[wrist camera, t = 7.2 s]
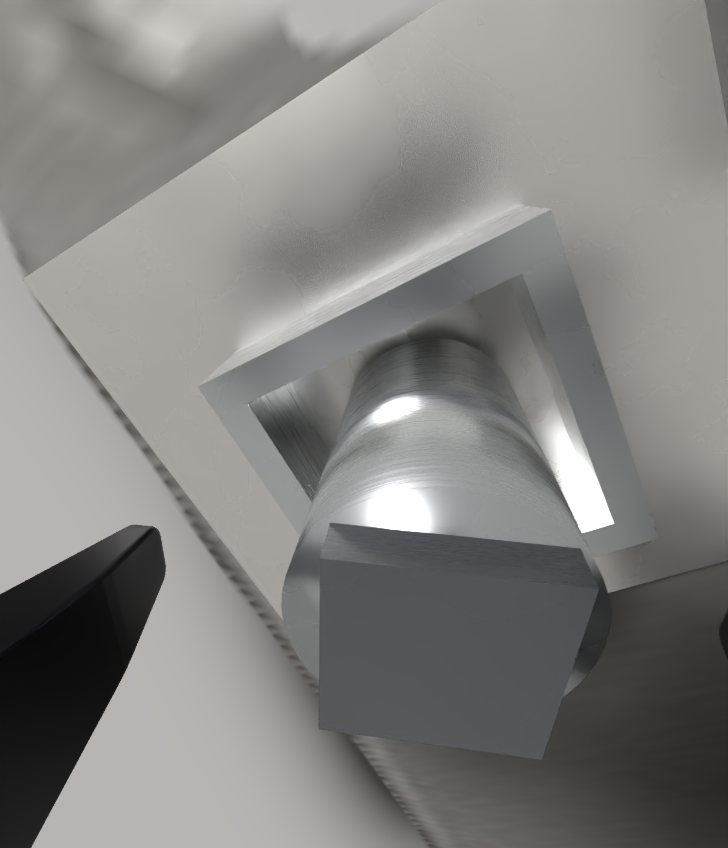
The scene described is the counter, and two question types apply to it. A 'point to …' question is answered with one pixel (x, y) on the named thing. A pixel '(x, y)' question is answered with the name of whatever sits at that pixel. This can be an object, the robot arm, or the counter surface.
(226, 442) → the duct socket
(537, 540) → the sleeve
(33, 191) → the counter surface
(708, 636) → the counter surface
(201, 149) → the counter surface
